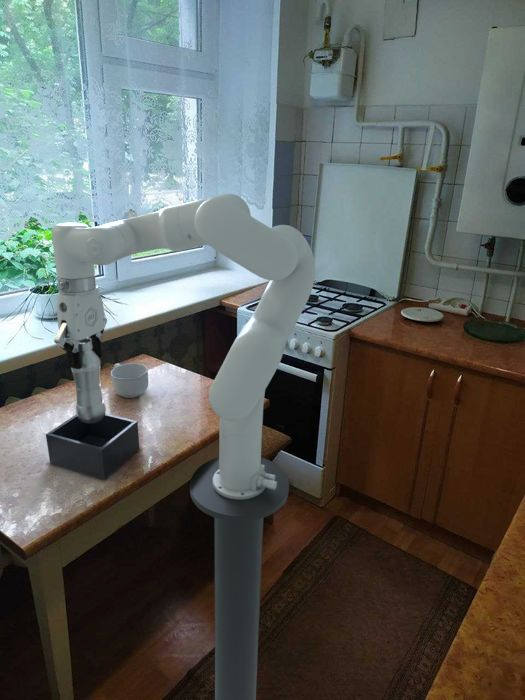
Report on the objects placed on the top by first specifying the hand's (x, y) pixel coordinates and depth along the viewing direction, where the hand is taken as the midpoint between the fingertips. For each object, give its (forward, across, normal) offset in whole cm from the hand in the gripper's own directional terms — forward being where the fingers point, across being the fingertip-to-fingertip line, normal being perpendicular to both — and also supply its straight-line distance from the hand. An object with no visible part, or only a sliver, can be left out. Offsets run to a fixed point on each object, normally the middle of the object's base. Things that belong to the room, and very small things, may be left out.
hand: (85, 361), depth 111 cm
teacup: (+25, +32, +13) cm, 43 cm away
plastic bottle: (+15, 0, 0) cm, 15 cm away
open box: (+25, 0, 0) cm, 25 cm away
